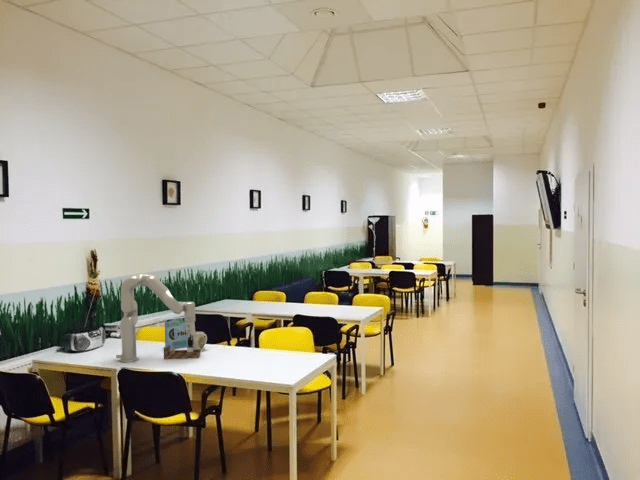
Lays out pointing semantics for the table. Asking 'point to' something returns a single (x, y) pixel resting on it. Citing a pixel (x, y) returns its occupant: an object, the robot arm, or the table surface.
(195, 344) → the pitcher
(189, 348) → the jaw
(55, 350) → the table surface
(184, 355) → the bench
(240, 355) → the table surface
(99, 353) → the table surface
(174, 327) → the gum box
